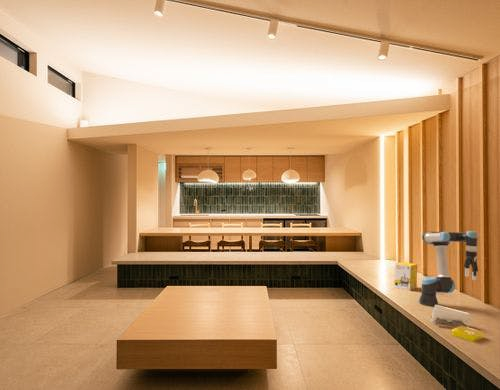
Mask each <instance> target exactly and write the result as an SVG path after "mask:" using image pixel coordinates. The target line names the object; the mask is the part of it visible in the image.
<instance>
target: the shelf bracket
mask: <svg viewBox="0 0 500 390" xmlns="http://www.w3.org/2000/svg"><path fill="white" fill-rule="evenodd" d="M431 316H432V318H431V317H430V321H431V322H434V321H435V320H436V318H437V317H439V318H440V319H444V320H447V321H450V322H453V320H455V321H462V322H463V323H466V324H469V323H470V321H471V318H472V315H471V314H470V313H469V312H465V311H462V310H458V309H455V308H450V307H446V306H442V305H440V304H438V305H435V306H433V308H432V315H431Z"/></svg>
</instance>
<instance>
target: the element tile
mask: <svg viewBox="0 0 500 390" xmlns="http://www.w3.org/2000/svg"><path fill="white" fill-rule="evenodd" d="M468 327H469V326H468ZM468 327H465V326H459V327H456V328H453V329H451V335H452V336H453V337H457V338H460V339H463V340H466V341H469V342H472V343H477V342H479V341H481V340H483V339H484V338H485V337H484V335H485V333H484V331H481V330H479V329H475V328H471V327H469V328H468ZM476 341H477V342H476Z"/></svg>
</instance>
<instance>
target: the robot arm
mask: <svg viewBox="0 0 500 390" xmlns="http://www.w3.org/2000/svg"><path fill="white" fill-rule="evenodd" d="M421 238H422V241H423V242H424V243H425V244H428V245H433V247H434V248H435V254H436V255H435V256H436V265H437V266H436V267H437V276H436V277H435V276H424V277H422V278H421V295H420V296H419V299H418V300H419V301H418V302H419V304H420V305H424V306H427V307H435V305H439V302H438V298H437V293H441V294H443V293H444V294H450V293H451V294H452V293H453V292H454V291H455V289H456V283H455V280H454V279H452V276H450V271H449V270H450V269H449V260H448V251H447V248H448V247H449V245H450V244H451V242H456V243H465V250H466V251H465V260H464V263H463V267H464V277H468V278H469V277H470V267H471V269H472V270H471V281H477V273H478V272H479V270H478V269H479V268H478V263H477V261H478V260H477V258H476V257H477V256H478V252H477V251H478V239H479V238H478V231H474V230H473V231H472V230H468V231H466V232H463V231H462V232H461V231H460V232H459V231H458V232H456V231H455V232H454V231H425V232H424V233H423V234H422V236H421Z"/></svg>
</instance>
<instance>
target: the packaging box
mask: <svg viewBox="0 0 500 390" xmlns="http://www.w3.org/2000/svg"><path fill="white" fill-rule="evenodd" d="M417 282H418V264H417V263H411V262H404V261H401V262H396V263H394V284H393V285H394V286H393V287H394V288H396V289H400V290H406V291H413V290H415V288H416V289H417V287H418V286H417V285H418V283H417ZM412 289H413V290H412Z"/></svg>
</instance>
